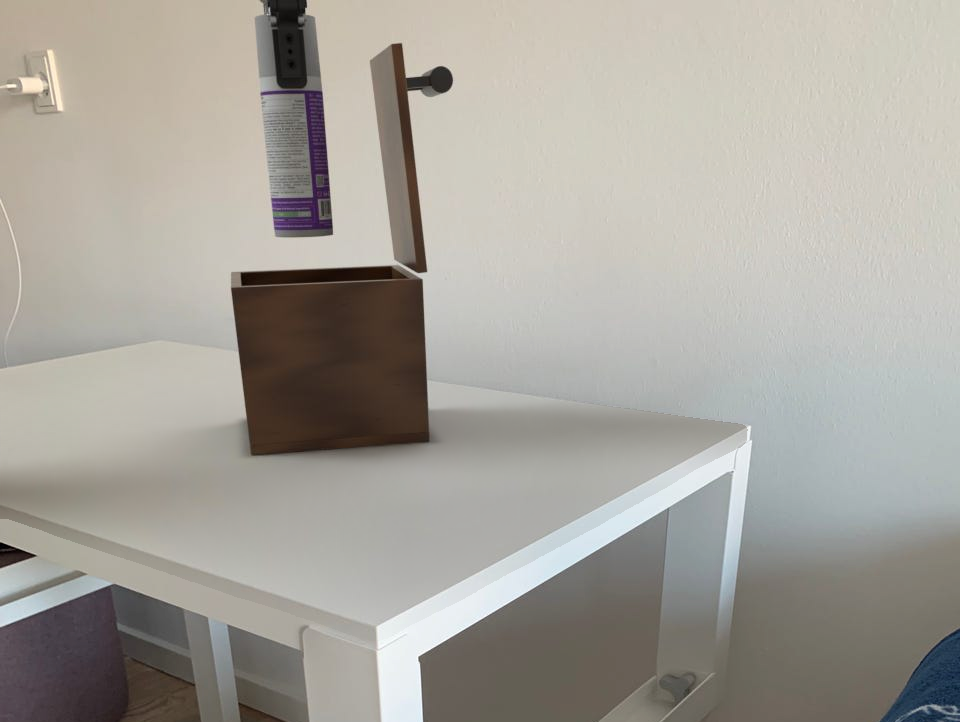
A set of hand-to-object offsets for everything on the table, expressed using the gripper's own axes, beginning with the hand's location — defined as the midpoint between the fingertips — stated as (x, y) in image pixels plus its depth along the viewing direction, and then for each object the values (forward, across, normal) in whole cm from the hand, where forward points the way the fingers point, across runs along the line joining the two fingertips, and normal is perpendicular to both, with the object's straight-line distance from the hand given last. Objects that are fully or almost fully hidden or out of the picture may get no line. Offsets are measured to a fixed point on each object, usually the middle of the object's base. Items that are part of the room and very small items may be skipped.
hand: (290, 89), depth 76 cm
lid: (+5, 0, +7) cm, 9 cm away
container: (+11, 0, 0) cm, 11 cm away
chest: (+26, 0, +1) cm, 26 cm away
